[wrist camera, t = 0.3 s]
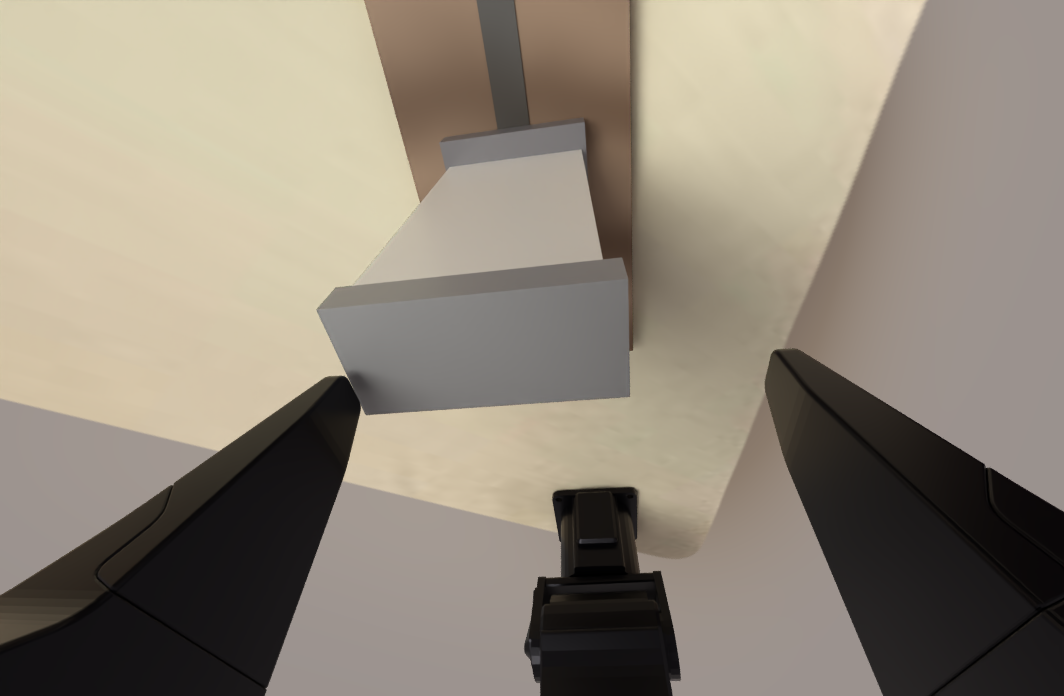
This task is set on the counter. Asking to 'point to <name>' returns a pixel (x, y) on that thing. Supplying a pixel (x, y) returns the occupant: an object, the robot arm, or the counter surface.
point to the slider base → (515, 86)
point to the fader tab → (490, 286)
